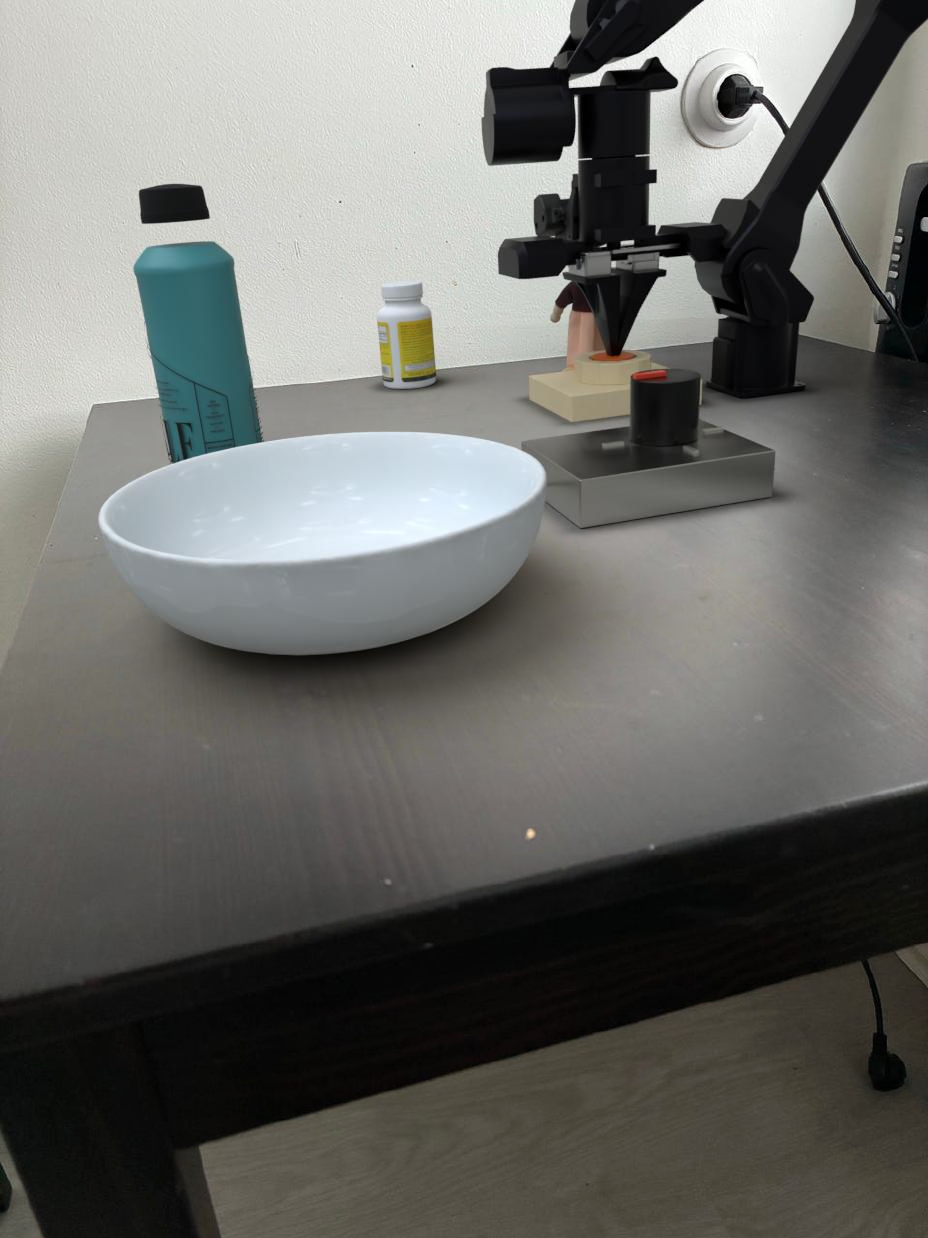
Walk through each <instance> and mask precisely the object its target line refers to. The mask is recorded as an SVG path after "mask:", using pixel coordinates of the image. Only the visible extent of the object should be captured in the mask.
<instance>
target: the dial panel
mask: <svg viewBox="0 0 928 1238" xmlns="http://www.w3.org/2000/svg"><path fill="white" fill-rule="evenodd" d="M520 448H521V449H520V450H521V451H524V452H526V453H528V454H530V455H531V456H533V457H534V458H535V459H537V460H538V461H539V462H540V463H541V465H542V466H543V467H544V469H545V471H546V474H547V488H546V496H545V503H547V504H548V505H549V506H551V507H552V508H554V509H555V510H556V511H557V512H558V513H560V514H562V515H563V516H564V517H565V518H566V519H567V520H569V521H571V522H572V523H573V524H574V525H576V526H577V527H578V528H579V529H584V528H592V527H596V526H603V525H609V524H615V523H621V522H627V521H634V520H639V519H640V520H641V519H646V518H652V517H658V516H664V515H670V514H677V513H683V512H688V511H695V510H700V509H706V508H712V507H718V506H719V507H720V506H724V505H730V504H736V503H742V502H748V501H754V500H760V499H761V500H762V499H766V498H767V499H768V498H772V497H773V494H774V493H773V490H774V479H775V478H774V477H775V463H776V450H775V449H772V448H770V447H768V446H766V445H763V444H761V443H758V442H756V441H753V440H751V439H748V438H746V437H744V436H742V435H740V434H737V433H734V432H732V431H730V430H727V429H724V427H723V426H718V425H716V424H713V423H710V422H708V421H706V420H703V419H701V418H699V432H698V438H697V439H696V440H695V441H692V442H689V443H686V444H680V445H671V446H654V445H645V444H640V443H637V442H634V441H632V440H631V439H630V425H626V426H621V427H620V426H619V427H613V428H606V429H598V430H592V431H591V430H590V431H585V432H577V433H571V434H564V435H563V434H562V435H557V436H548V437H543V438H535V439H534V438H533V439H527V440H521V442H520Z"/></svg>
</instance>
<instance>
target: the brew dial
mask: <svg viewBox="0 0 928 1238" xmlns="http://www.w3.org/2000/svg"><path fill="white" fill-rule="evenodd" d="M701 377H702V374H701V373H700V372H698V371H696V370H692V369H684V368H670V369H653V370H645V371H640V372H637V373H634V374H632V375H631V376H630V414H629V426H630V439H631V440H632V441H634V442H637V443H640V444H645V445H654V446H671V445H680V444H686V443H689V442H692V441H695V440H696V439H697V438H698V432H699V419H700V382H701V379H702V378H701Z"/></svg>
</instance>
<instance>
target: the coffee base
mask: <svg viewBox="0 0 928 1238" xmlns="http://www.w3.org/2000/svg"><path fill="white" fill-rule="evenodd" d="M603 352H606V350H603V351H595V352H588V353H584V354H581V355H577V356H576V358H575V359H574V370H571V371H563V370H562V371H563V372H562V371H555V372H549V373H540V374H539V373H538V374H531V375H528V389H529V390H528V392H529V401H532V402H534V403H535V404H537V405H538V406H541V407H543V408H545V409H547V410H548V411H550V412H552V413H554V414H555V415H558V416H559V417H561V418H563V419H565V420H566V421H568V422H571V423H576V422H584V421H591V420H599V419H605V418H613V417H620V416H630V376H631V375H632V374H634V373H637V372H640V371H645V370H653V369H671V368H670V367H667V366H664V365H661V364H658V363H657V362H656V363H655V362H653V361H652V354H651V353H649V352H646V351H643V350H633V349H622V352H629V353H632V354H633V355H634V358H633V359H630V360H622V361H595V360H592V356H593V355H594V354H598V353H603ZM702 396H703V379H702V378H701V382H700V405H702V398H703V397H702Z"/></svg>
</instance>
